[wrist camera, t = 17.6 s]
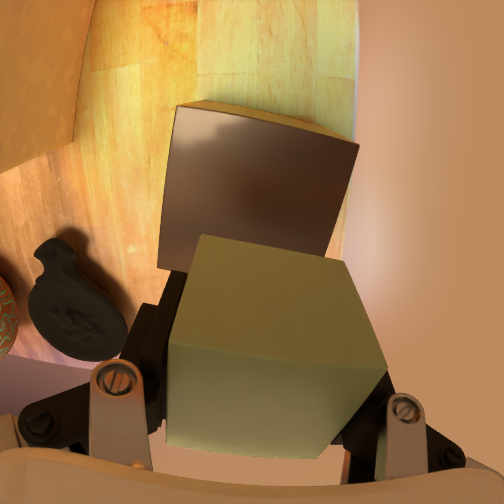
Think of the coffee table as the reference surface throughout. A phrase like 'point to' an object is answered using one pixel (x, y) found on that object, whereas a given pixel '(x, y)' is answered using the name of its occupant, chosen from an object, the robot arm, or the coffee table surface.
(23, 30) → the oven
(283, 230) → the stand
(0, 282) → the decorative sphere
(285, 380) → the block
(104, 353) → the oil lamp
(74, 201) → the coffee table surface
